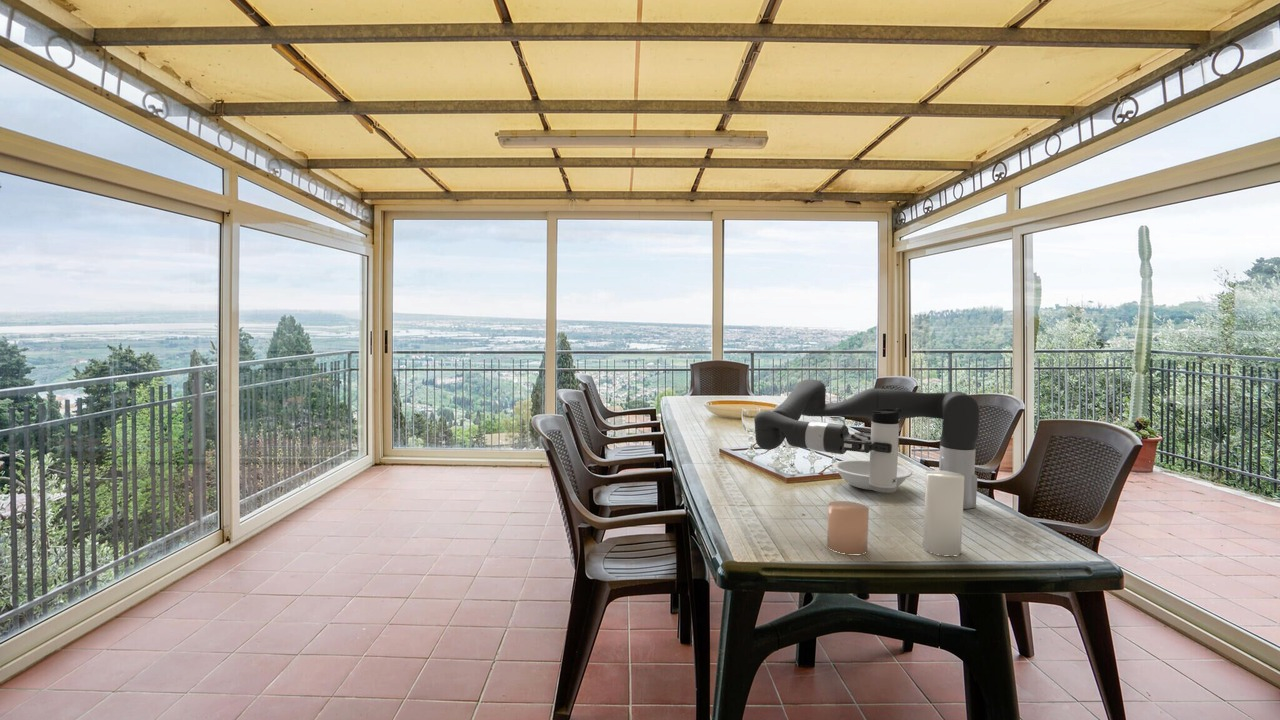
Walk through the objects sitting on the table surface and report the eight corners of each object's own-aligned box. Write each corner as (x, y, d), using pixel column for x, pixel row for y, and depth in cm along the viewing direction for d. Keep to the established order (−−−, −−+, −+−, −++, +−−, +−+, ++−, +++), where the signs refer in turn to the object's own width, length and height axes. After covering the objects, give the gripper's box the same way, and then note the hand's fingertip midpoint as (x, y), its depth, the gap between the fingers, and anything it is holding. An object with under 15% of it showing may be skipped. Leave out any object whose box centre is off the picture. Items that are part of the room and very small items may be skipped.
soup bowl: (917, 486, 194) (918, 466, 194) (903, 503, 174) (904, 481, 174) (843, 475, 208) (844, 456, 207) (822, 490, 188) (823, 469, 187)
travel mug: (901, 493, 142) (905, 410, 140) (874, 492, 142) (877, 410, 140) (891, 485, 148) (894, 407, 147) (865, 485, 148) (868, 406, 147)
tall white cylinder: (952, 544, 142) (955, 471, 141) (967, 557, 134) (970, 479, 133) (917, 542, 143) (920, 469, 141) (930, 555, 135) (933, 478, 134)
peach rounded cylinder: (861, 542, 143) (863, 501, 142) (871, 556, 134) (873, 513, 133) (823, 540, 144) (824, 500, 143) (831, 554, 135) (832, 511, 134)
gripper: (817, 427, 147) (888, 435, 137) (836, 419, 158) (902, 426, 148) (816, 456, 147) (886, 467, 137) (835, 447, 159) (901, 456, 149)
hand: (894, 446), depth 143 cm, fingers closed on travel mug, 6 cm apart
